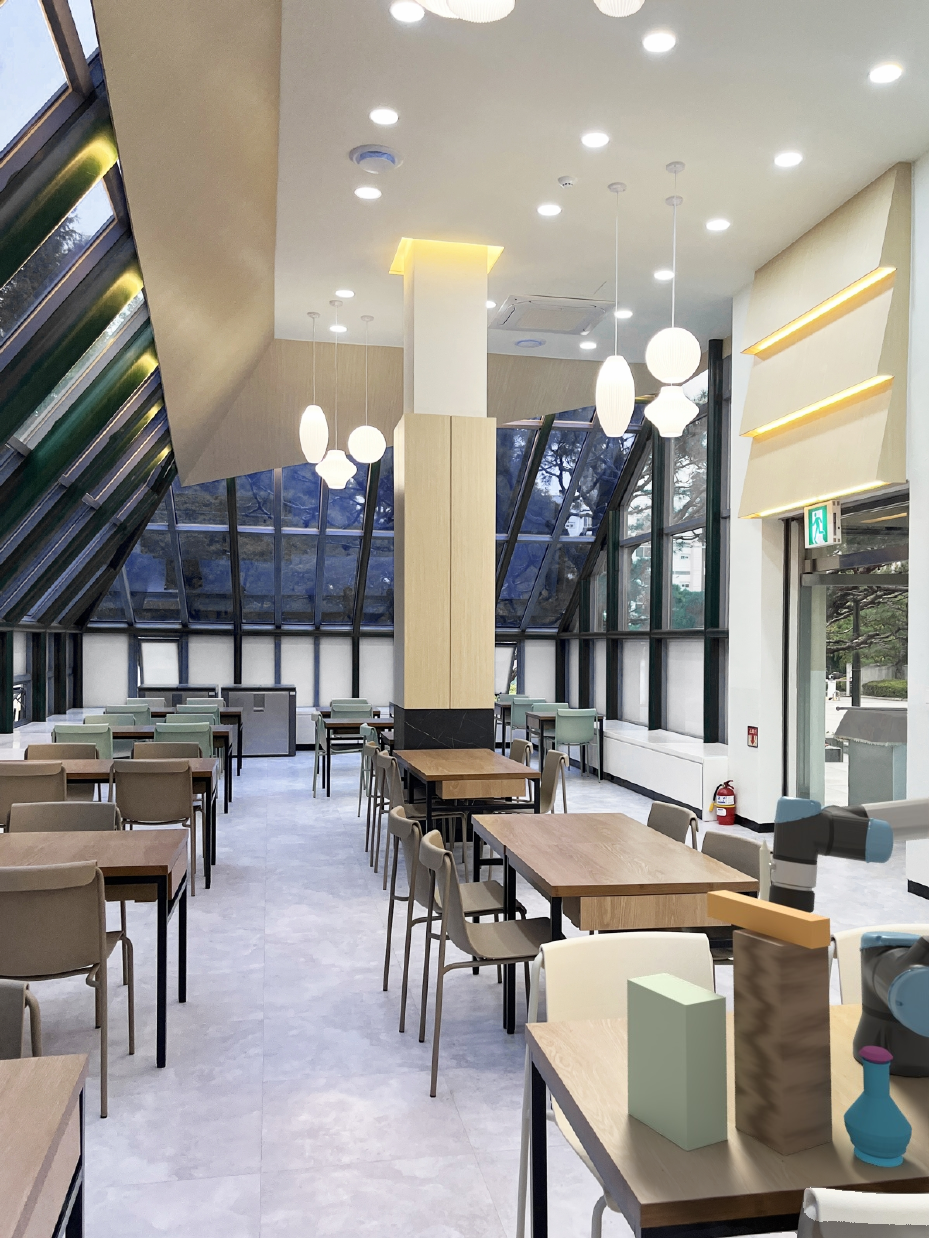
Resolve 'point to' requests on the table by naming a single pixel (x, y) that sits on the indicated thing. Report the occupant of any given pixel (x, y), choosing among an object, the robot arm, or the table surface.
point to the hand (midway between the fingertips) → (783, 1012)
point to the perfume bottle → (877, 1114)
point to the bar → (769, 918)
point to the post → (781, 1042)
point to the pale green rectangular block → (677, 1059)
